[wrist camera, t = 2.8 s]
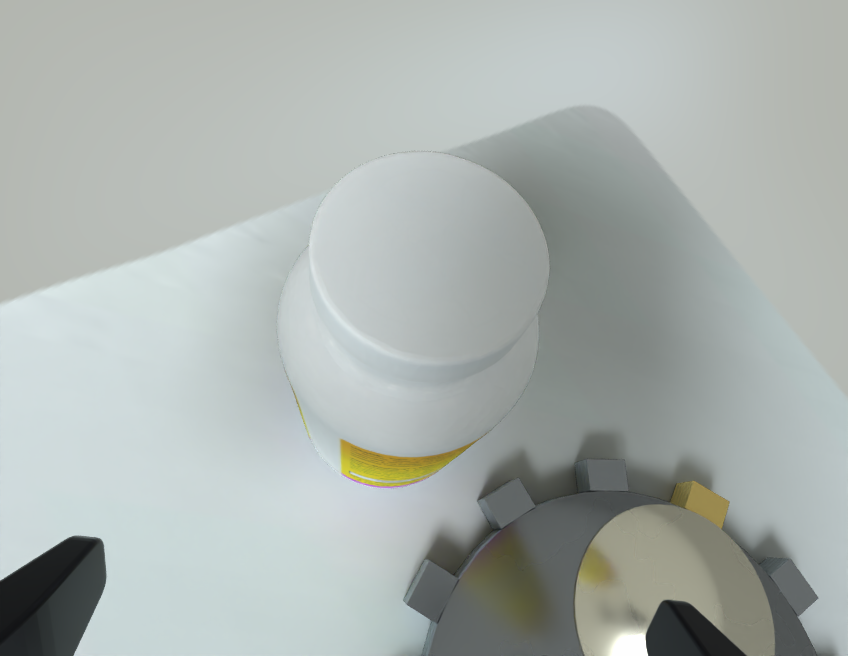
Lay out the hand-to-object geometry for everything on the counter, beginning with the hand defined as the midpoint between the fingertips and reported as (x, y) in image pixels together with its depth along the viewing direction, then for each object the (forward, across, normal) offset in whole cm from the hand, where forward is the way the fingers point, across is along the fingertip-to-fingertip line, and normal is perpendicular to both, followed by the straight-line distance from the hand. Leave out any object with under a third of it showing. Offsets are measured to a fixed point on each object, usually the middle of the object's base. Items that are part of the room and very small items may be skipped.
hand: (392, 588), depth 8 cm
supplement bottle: (+13, 0, +4) cm, 13 cm away
